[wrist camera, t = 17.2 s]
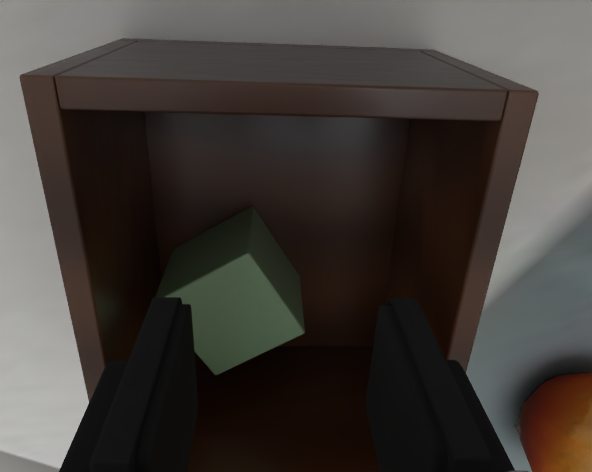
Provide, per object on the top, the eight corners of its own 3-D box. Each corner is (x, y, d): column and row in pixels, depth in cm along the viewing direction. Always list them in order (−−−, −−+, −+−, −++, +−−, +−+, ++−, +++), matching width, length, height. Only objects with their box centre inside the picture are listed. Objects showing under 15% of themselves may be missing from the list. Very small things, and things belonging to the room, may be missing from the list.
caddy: (121, 37, 19) (17, 74, 11) (434, 49, 20) (540, 91, 12) (157, 347, 26) (109, 501, 18) (387, 347, 27) (434, 495, 19)
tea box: (248, 252, 18) (151, 303, 19) (306, 333, 20) (215, 377, 21) (252, 204, 22) (172, 248, 23) (300, 276, 24) (224, 314, 24)
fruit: (467, 465, 30) (575, 542, 22) (506, 342, 31) (622, 374, 23) (567, 497, 32) (699, 578, 24) (601, 380, 32) (738, 421, 25)
